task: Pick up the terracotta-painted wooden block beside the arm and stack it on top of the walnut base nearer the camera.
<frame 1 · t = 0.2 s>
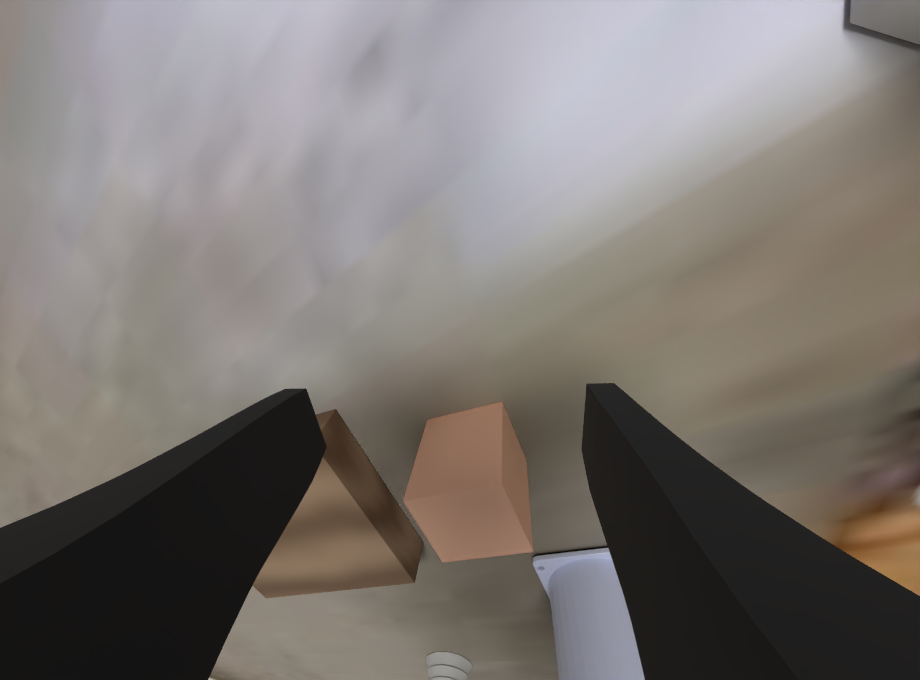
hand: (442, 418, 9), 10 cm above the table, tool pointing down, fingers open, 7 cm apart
terracotta block: (477, 439, 22), on the table
chalice: (449, 661, 37), on the table
walnut base: (306, 498, 27), on the table
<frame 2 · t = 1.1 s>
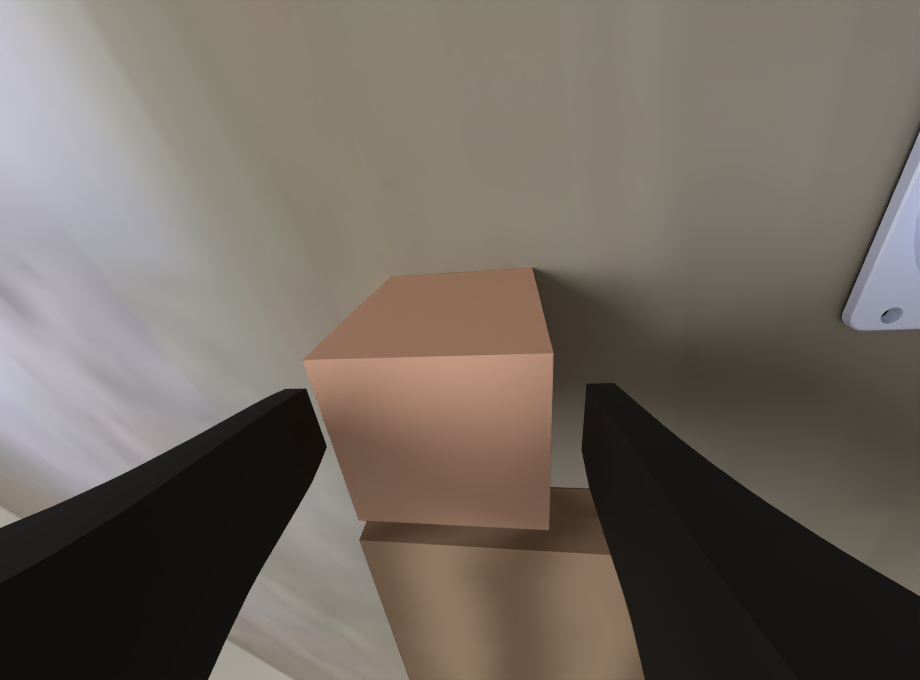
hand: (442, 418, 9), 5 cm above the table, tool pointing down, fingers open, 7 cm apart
terracotta block: (465, 336, 13), on the table
walnut base: (524, 574, 19), on the table
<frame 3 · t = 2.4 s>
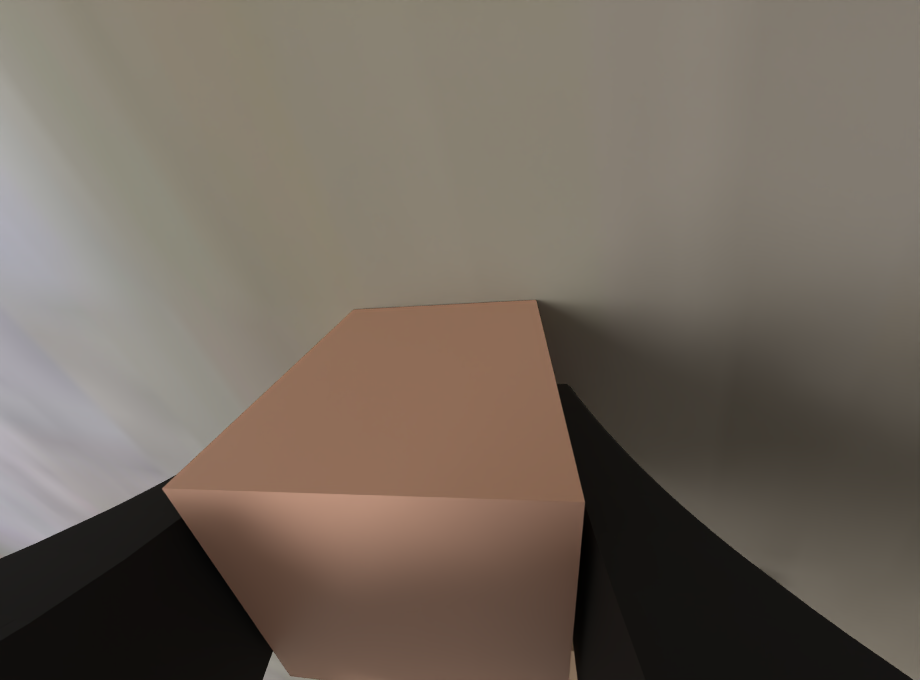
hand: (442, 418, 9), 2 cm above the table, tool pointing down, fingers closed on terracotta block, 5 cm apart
terracotta block: (451, 382, 10), on the table, touching gripper
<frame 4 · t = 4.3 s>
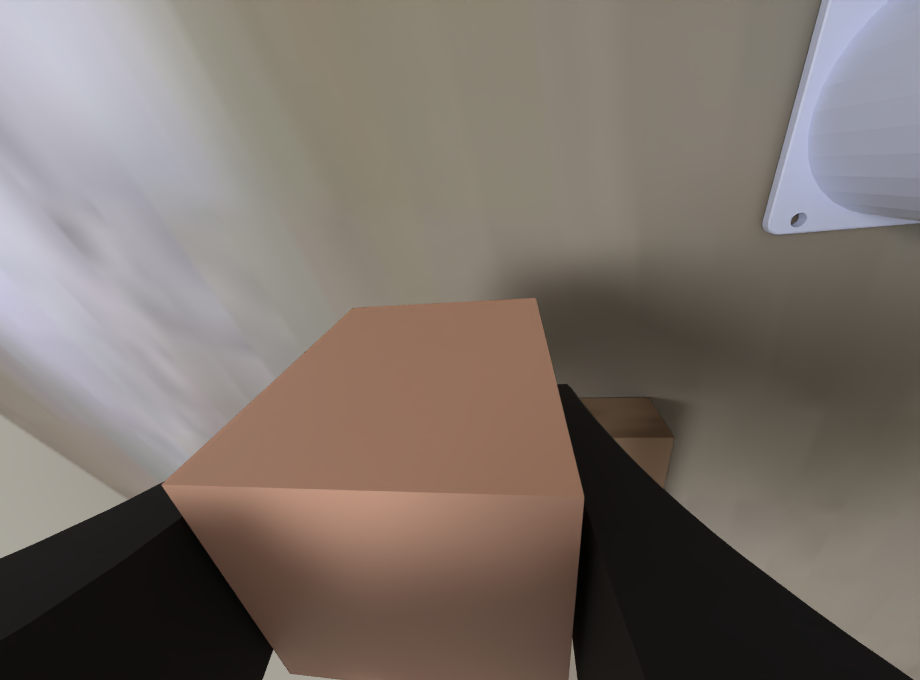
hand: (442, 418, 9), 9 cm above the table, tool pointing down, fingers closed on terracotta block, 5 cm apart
terracotta block: (451, 381, 10), point 7 cm above the table, touching gripper
walnut base: (517, 488, 22), on the table
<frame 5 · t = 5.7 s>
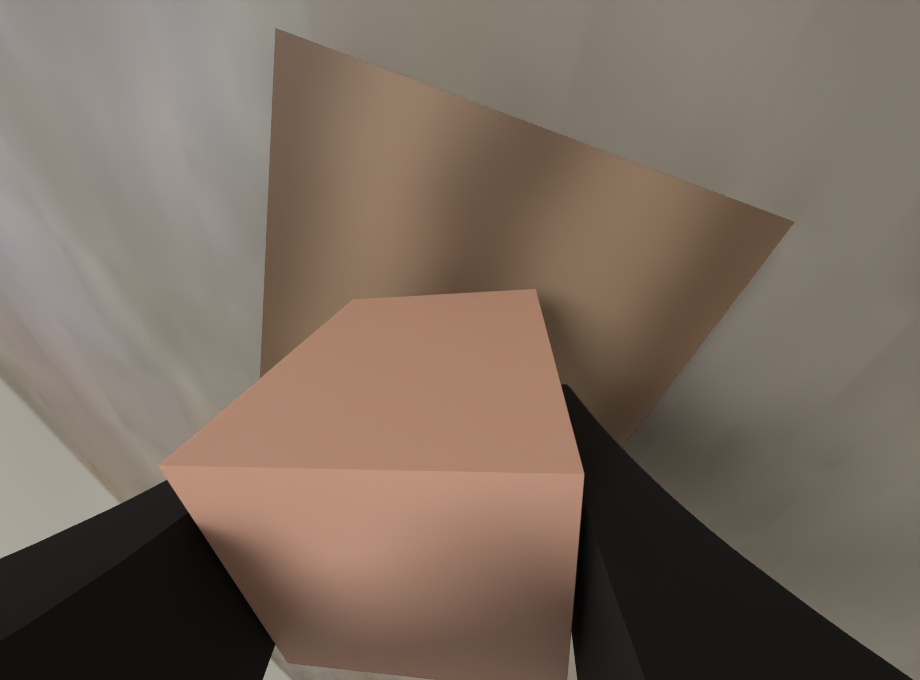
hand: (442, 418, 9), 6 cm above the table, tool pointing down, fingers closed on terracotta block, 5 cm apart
terracotta block: (450, 373, 10), point 5 cm above the table, touching gripper
walnut base: (467, 319, 14), on the table
when the fingers open (6 cm above the table, at t = 6.6 s): terracotta block drops 1 cm, resting on walnut base.
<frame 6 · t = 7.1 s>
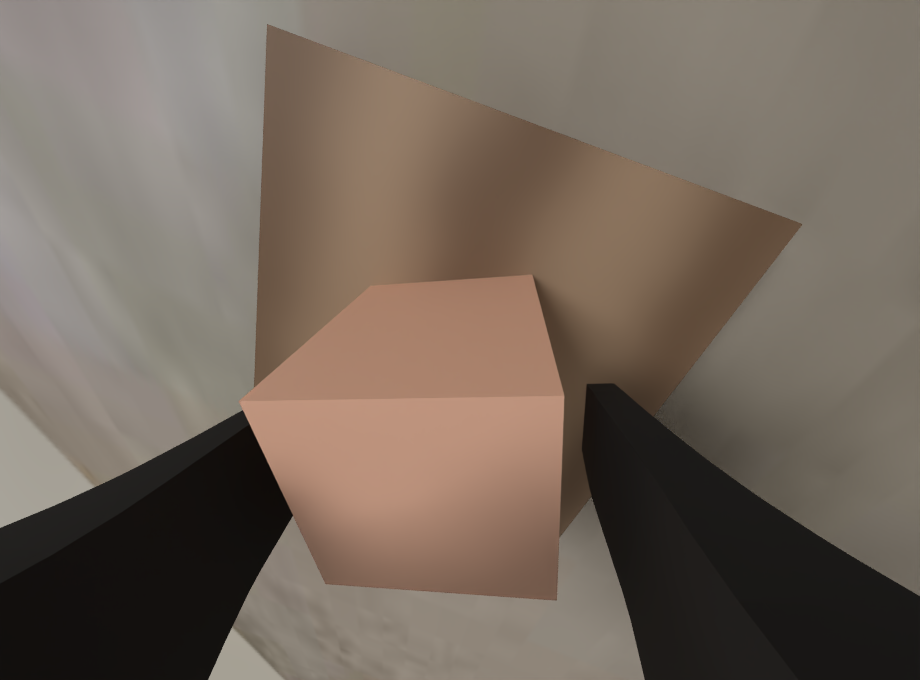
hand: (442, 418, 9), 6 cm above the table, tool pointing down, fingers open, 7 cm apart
terracotta block: (457, 352, 11), point 3 cm above the table, touching walnut base
walnut base: (466, 323, 14), on the table
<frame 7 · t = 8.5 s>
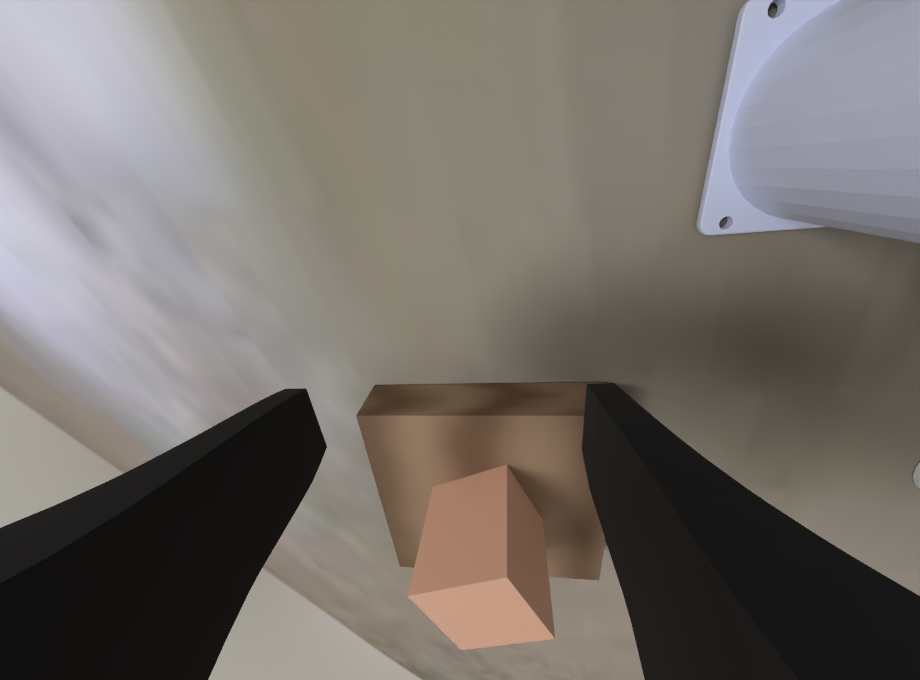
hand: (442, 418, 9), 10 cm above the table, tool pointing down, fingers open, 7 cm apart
terracotta block: (487, 503, 21), point 3 cm above the table, touching walnut base
walnut base: (491, 467, 24), on the table
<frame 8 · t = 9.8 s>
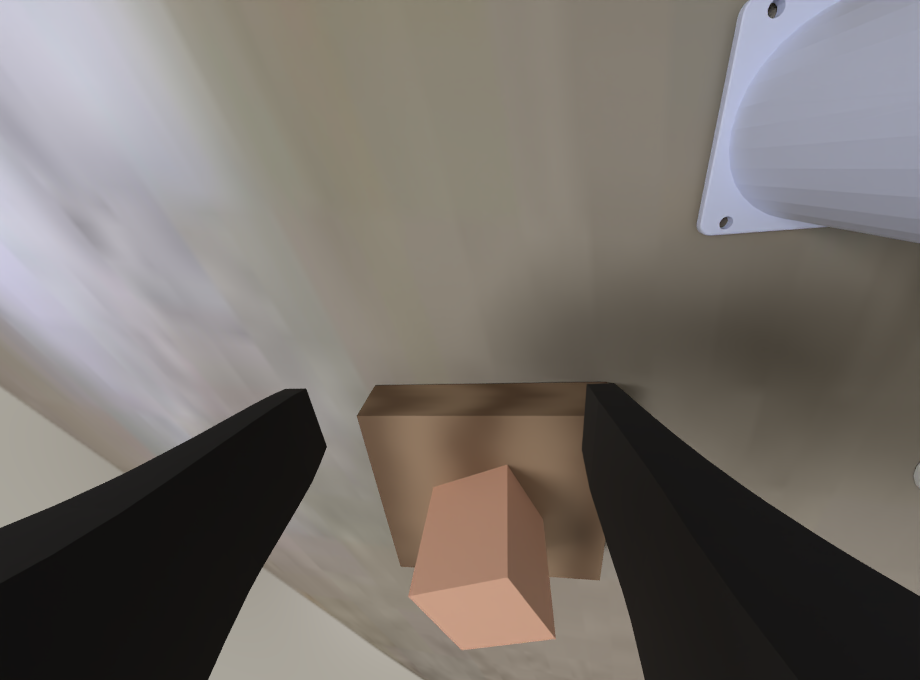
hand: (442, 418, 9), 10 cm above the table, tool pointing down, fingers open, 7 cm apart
terracotta block: (488, 503, 21), point 3 cm above the table, touching walnut base
walnut base: (491, 467, 24), on the table
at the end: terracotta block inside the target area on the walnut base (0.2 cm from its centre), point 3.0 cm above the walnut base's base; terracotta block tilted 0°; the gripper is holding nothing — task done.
